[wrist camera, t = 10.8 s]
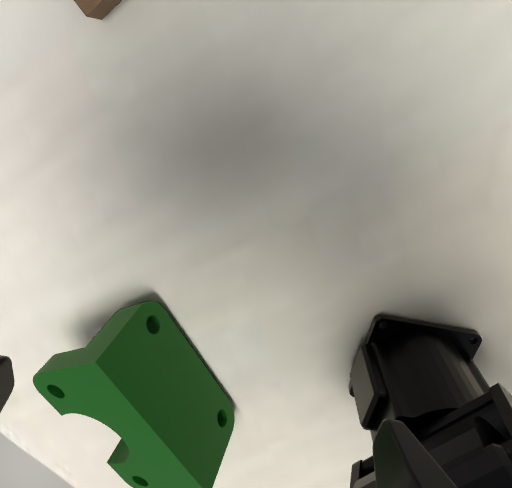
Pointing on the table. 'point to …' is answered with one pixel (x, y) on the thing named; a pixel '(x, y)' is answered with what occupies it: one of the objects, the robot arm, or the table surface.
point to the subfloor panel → (96, 7)
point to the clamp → (146, 399)
